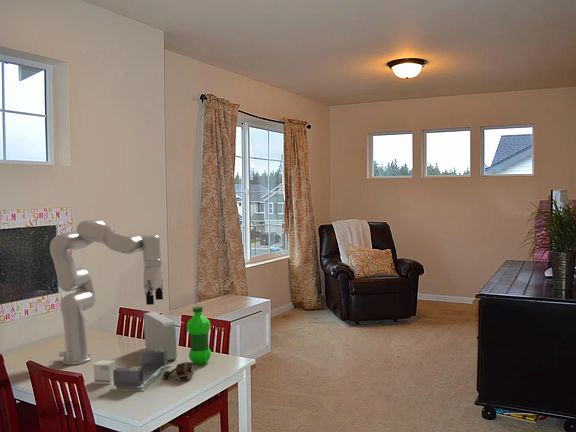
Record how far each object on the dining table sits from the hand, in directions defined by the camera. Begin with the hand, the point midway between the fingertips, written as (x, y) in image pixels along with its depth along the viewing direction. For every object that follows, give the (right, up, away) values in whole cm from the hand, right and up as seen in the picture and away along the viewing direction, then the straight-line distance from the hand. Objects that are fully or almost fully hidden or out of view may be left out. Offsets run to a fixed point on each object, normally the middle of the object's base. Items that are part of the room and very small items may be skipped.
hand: (154, 301), depth 234 cm
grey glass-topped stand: (-2, -30, -13) cm, 33 cm away
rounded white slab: (-2, -28, +19) cm, 34 cm away
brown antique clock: (+14, -29, -15) cm, 36 cm away
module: (-16, -30, -15) cm, 38 cm away
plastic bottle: (+20, -28, +3) cm, 34 cm away
